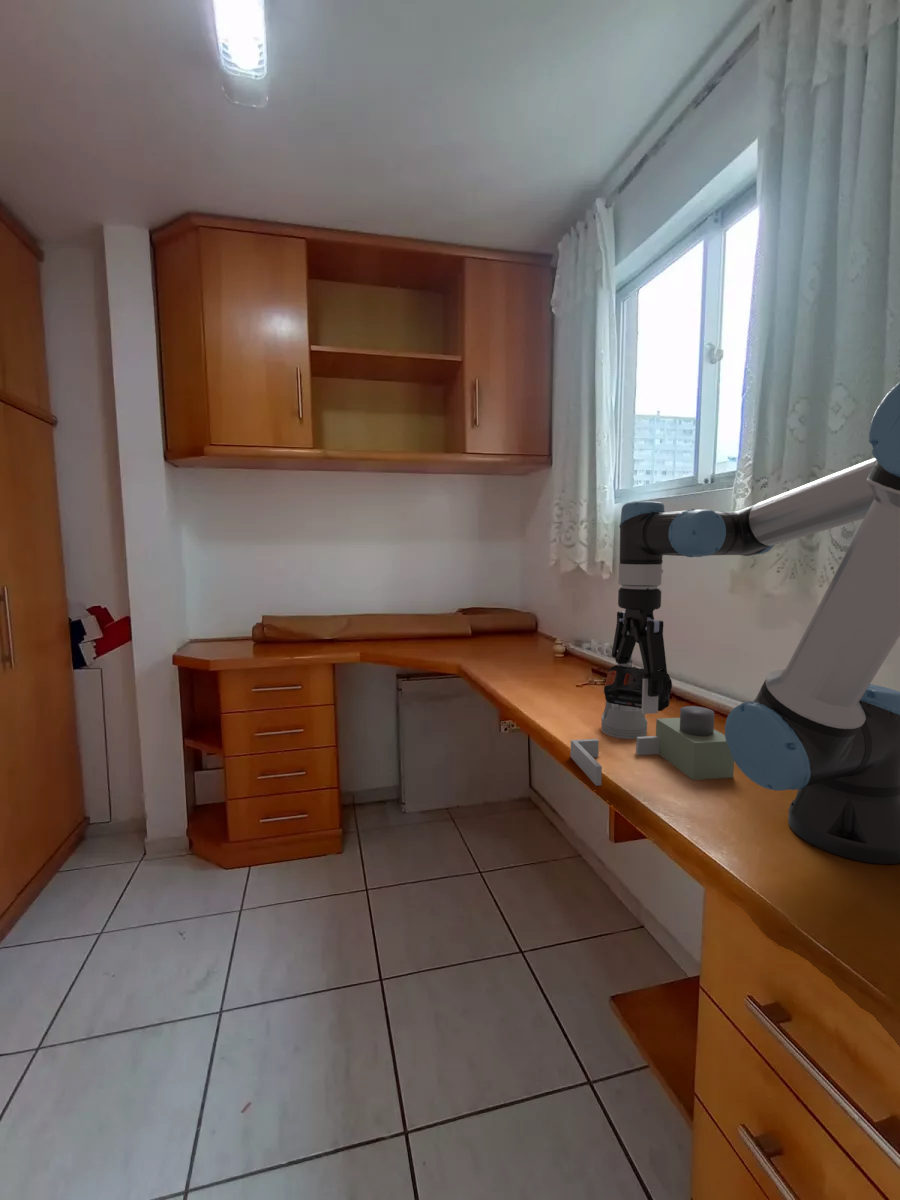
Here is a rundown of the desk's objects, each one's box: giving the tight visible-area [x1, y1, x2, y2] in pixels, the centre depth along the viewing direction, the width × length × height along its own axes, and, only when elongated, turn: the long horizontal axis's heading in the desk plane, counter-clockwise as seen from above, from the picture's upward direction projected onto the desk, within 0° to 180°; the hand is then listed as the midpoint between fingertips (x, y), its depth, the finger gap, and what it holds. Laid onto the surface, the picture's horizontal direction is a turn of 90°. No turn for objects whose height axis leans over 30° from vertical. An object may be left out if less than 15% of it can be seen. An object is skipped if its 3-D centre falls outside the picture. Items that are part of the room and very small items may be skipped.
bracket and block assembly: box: [570, 705, 735, 787], centre depth 106 cm, size 14×26×11 cm, turn 97°
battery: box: [603, 664, 673, 712], centre depth 104 cm, size 12×8×7 cm
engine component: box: [601, 654, 648, 740], centre depth 126 cm, size 11×20×10 cm
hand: (635, 704), depth 104 cm, fingers closed on battery, 10 cm apart
